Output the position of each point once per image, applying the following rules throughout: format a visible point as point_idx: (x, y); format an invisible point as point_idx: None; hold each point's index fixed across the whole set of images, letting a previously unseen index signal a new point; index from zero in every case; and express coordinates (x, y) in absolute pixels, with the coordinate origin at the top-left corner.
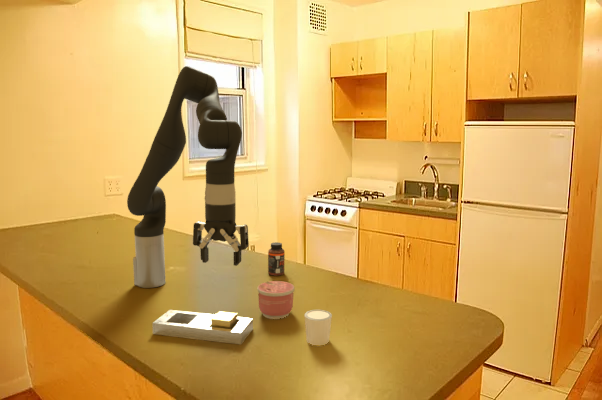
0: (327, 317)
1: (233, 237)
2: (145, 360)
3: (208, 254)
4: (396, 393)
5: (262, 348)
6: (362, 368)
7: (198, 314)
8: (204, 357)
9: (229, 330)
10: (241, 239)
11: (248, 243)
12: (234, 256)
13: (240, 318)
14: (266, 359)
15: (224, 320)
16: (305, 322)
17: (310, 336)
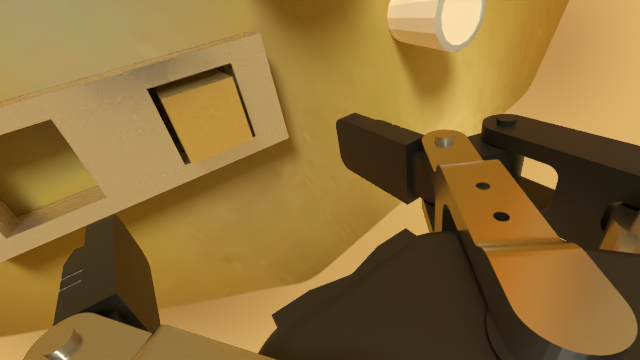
0: (480, 20)
1: (475, 192)
2: None
3: (114, 240)
4: (501, 113)
5: (324, 114)
6: (474, 77)
7: (47, 115)
8: (246, 218)
9: (255, 145)
10: (555, 226)
11: (535, 123)
12: (387, 186)
13: (225, 56)
14: None
15: (236, 145)
16: (423, 35)
17: (414, 44)
